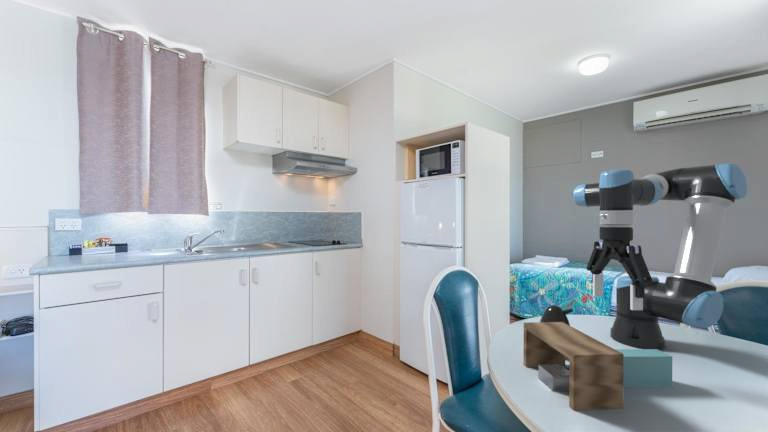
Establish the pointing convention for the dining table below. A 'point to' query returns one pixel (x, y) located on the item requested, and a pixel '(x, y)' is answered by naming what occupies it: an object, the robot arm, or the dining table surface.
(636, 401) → the dining table surface
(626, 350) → the teal batten
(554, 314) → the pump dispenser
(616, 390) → the walnut shelf
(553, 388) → the low grey plinth
